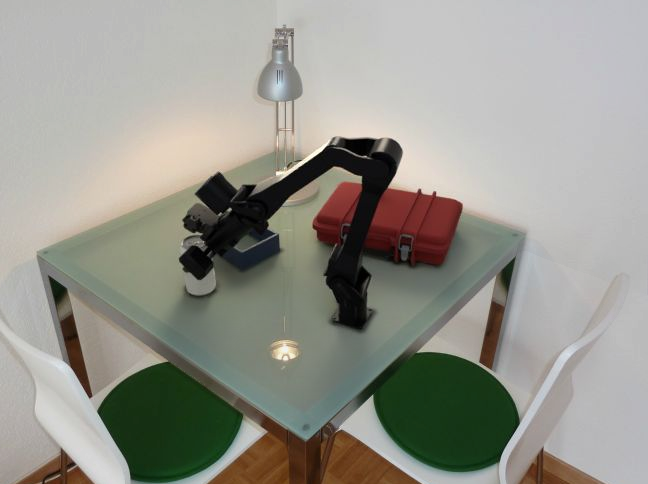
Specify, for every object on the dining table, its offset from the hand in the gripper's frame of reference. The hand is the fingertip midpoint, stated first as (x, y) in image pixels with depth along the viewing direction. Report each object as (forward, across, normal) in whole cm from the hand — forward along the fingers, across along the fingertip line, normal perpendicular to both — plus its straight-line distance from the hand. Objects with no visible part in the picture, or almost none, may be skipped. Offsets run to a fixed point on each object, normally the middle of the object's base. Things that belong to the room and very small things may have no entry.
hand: (192, 261), depth 135 cm
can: (+4, 0, +6) cm, 7 cm away
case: (+2, -17, +7) cm, 18 cm away
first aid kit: (-19, -34, +29) cm, 49 cm away
